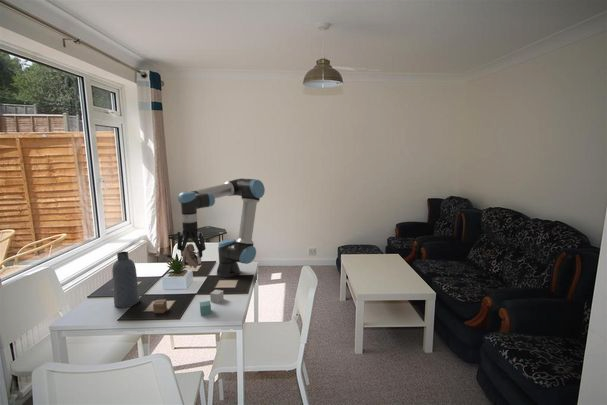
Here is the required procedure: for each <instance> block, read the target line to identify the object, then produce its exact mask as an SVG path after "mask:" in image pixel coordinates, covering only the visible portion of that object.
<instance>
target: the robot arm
mask: <svg viewBox="0 0 607 405" xmlns="http://www.w3.org/2000/svg"><path fill="white" fill-rule="evenodd" d="M265 191H266V190H265V186H264V183H263V181H261V180H260V179H256V178H236V179H233V180H229V181H225V182H224V183H222V184H219V185H213V186H210V187H205V188H201V189H197V190H192V191H182V192H180V193H179V195H178V197H177V199H178V202H179V203H180V207H181V209H180V210H181V220H182V225H181V226H182V230H179V231H178V232H177V236H178V237H177V245H176V246H177V247H176V250H178V251H180V256H181V258H182V257H183V253H184V248H185V247H187V244H188V241H189V239H190V240H192V241H193V242H194V245H195V247H196V249H197V252H196V253H197V254H196V255H197V259H198V264H200V265H201V263H202V258H203V252H204V251H205V250H206V245H205V244H206V243H205V238H204V232H203V231H199V230H198V212H197V210H198V209H205V208H211V207H213V206H214V205H215V203H216V199H218V198H223V197H226V196H227V197H233V196H240V197H241V198H240V199H241V201H243V202H242V209H241V214H240V215H241V216H240V217H241V218H240V224H239V229H238V230H239V232H238V238H237V239H235V238H229V239H224V240H221V241H219V242H218V249H217V250H218V251H217V252H218V266H217V269H216V276H217V277H219V278H223V279H225V278H226V279H228V278H229V279H230V278H234V277H237V276H239V275H240V273H241V269H240V267H239V264H238V263H241V264H244V265H248V264H251V263H252V262H253V261H254V260H255V258H256V256H257V249H256V247H255V246H254V244H255V243H254V241H253V233H254V226H255V220H256V219H255V218H256V210H257V204H258V203H259V202H260V200H261V198H262V197H264V195H265ZM183 235H184V236H183ZM184 244H185V245H186V246H185V245H184ZM186 262H187V260H186ZM187 263H188V262H187Z"/></svg>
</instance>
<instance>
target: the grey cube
mask: <svg viewBox="0 0 607 405" xmlns="http://www.w3.org/2000/svg"><path fill="white" fill-rule="evenodd" d="M209 295H210V296H209V297H210V303H215V304H216V303H217V304H219V303H221V302H222V301H223V300H224V290H221V289H214V290H213V291H211V292H210V293H209Z"/></svg>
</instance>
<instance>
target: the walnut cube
mask: <svg viewBox="0 0 607 405" xmlns="http://www.w3.org/2000/svg"><path fill="white" fill-rule="evenodd" d="M167 303H168V302H167V299H155V301H154V303H153V304H152V308H153V314H165V312H166V310H167V308H168V304H167Z"/></svg>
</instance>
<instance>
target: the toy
mask: <svg viewBox="0 0 607 405" xmlns="http://www.w3.org/2000/svg"><path fill="white" fill-rule="evenodd" d="M184 245H185V244H184ZM185 246H186V247H185V248H184V253H183V257H182V256H181V258H182V259H181V260H182V261H181V264H182V266H183V268H186V266H187V265H188V266H189V267H190V268H194V269H197V267H198V266H200V265H201V263H200V264H198V259H197V252H196V249H195V246H194V245H193V244H192V243H189V244H188V243H187V244H186V245H185ZM186 260H187V262H186Z"/></svg>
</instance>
